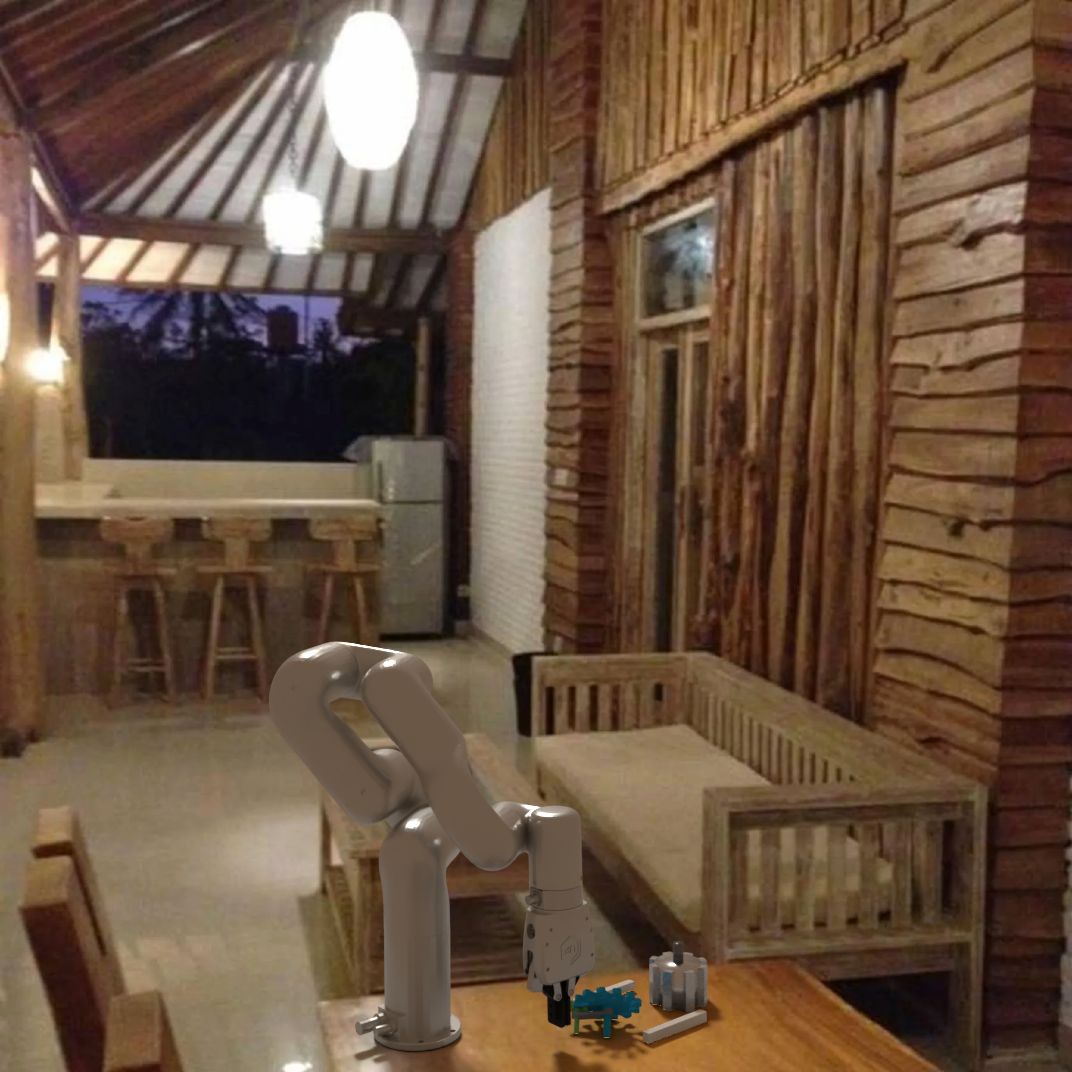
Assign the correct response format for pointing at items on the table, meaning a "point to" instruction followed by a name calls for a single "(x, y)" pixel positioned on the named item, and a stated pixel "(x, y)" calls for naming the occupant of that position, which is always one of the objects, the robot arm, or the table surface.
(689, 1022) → the guide rails
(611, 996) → the gear
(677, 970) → the sun gear
